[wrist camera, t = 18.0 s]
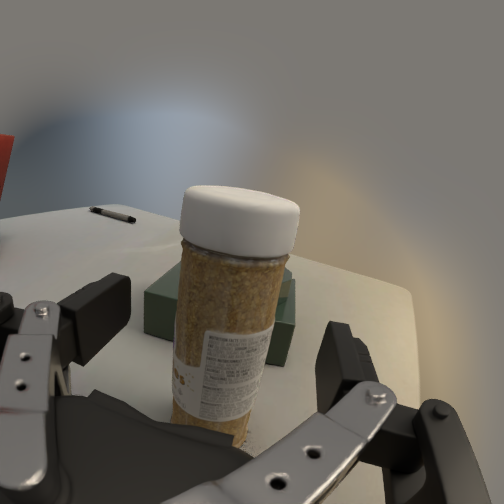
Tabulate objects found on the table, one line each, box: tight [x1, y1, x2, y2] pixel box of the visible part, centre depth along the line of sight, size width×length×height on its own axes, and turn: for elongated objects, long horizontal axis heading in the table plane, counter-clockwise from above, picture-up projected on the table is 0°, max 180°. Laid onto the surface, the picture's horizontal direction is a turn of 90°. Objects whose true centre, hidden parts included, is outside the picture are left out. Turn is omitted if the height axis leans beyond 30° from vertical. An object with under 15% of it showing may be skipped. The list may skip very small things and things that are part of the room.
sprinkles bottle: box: [171, 186, 300, 448], centre depth 13 cm, size 5×5×13 cm
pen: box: [89, 206, 136, 223], centre depth 61 cm, size 1×16×1 cm, turn 68°
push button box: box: [144, 261, 295, 366], centre depth 27 cm, size 12×10×6 cm
